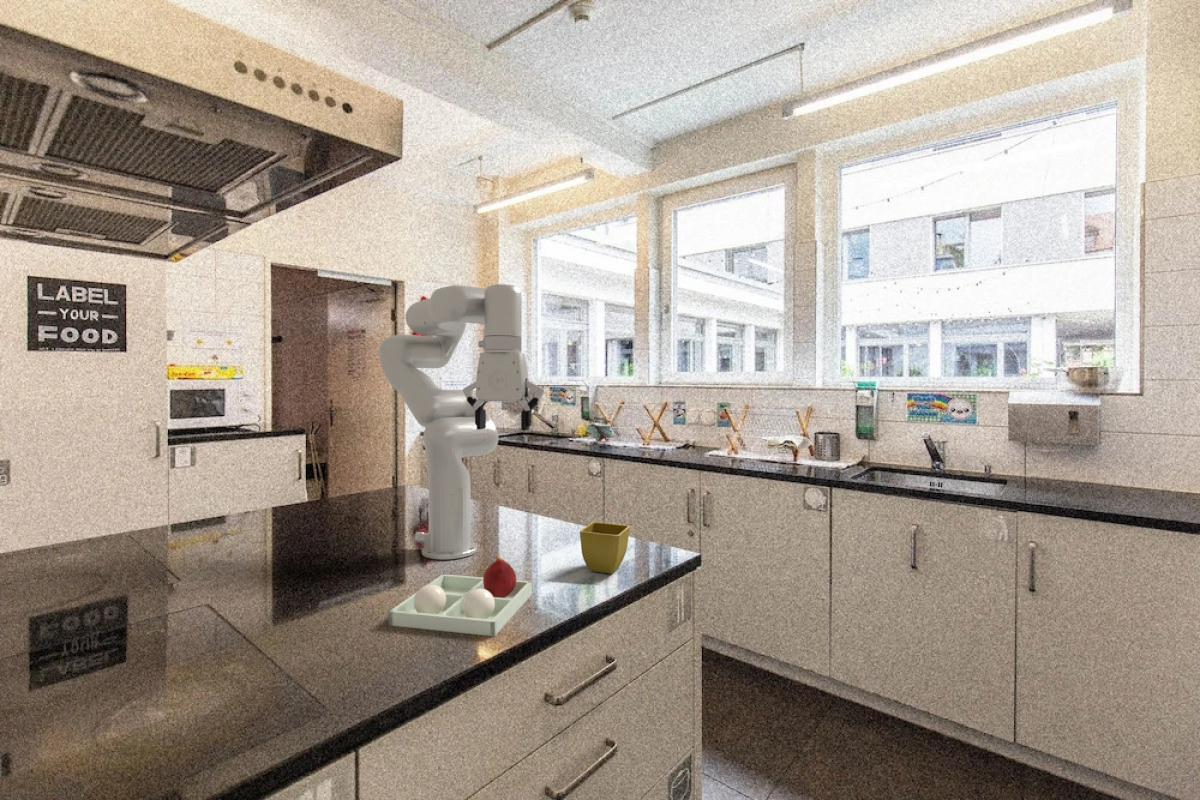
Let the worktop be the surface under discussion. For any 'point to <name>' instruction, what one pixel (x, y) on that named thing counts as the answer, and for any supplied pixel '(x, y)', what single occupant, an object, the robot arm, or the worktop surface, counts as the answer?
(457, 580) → the egg tray
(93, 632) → the worktop surface
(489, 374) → the robot arm
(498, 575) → the onion
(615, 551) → the flower pot
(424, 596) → the egg near left
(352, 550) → the worktop surface
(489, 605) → the egg near right
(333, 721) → the worktop surface
